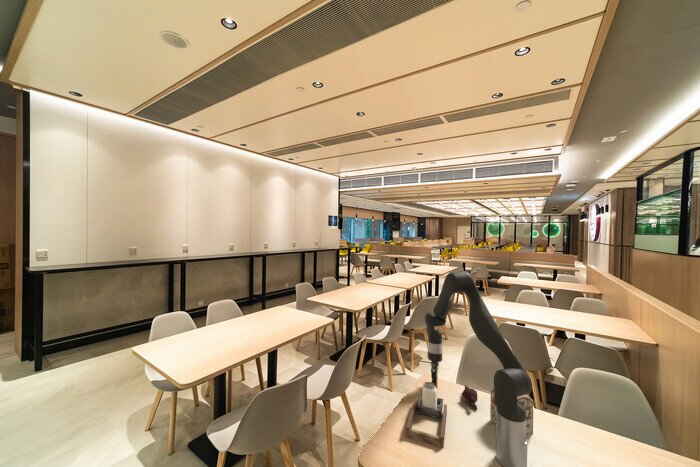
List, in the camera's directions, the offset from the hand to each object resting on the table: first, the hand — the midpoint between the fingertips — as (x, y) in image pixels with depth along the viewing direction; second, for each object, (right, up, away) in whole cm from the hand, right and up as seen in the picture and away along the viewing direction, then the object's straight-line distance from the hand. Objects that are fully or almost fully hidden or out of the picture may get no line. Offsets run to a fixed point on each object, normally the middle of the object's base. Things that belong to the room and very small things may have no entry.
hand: (434, 382), depth 146 cm
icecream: (+14, -4, -11) cm, 18 cm away
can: (-8, -3, -19) cm, 21 cm away
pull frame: (-4, -3, -11) cm, 12 cm away
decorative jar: (+24, -4, -28) cm, 37 cm away
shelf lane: (-11, -3, -28) cm, 30 cm away
